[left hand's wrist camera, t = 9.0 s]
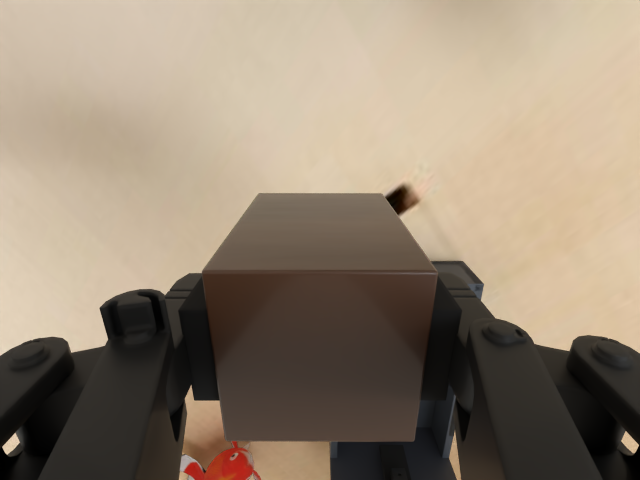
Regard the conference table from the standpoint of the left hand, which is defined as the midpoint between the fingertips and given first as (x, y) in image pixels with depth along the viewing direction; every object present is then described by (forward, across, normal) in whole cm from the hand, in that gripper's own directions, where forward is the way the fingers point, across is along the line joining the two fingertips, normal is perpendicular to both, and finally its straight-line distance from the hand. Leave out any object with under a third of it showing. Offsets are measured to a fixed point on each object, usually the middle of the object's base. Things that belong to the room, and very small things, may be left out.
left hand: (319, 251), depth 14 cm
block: (0, 0, 0) cm, 0 cm away
